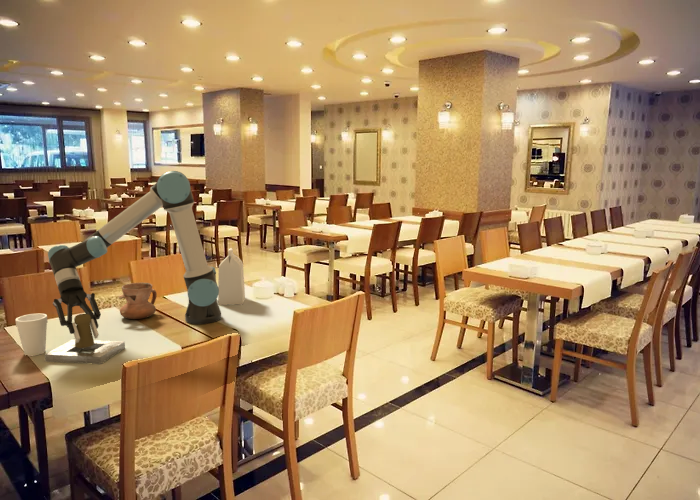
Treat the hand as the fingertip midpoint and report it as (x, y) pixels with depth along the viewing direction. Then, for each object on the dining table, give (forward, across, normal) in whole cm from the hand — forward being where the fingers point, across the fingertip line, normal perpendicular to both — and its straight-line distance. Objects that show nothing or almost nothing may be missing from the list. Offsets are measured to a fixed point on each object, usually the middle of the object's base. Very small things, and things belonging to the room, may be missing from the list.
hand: (87, 338), depth 172 cm
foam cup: (-7, +12, -18) cm, 23 cm away
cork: (0, 0, -5) cm, 5 cm away
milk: (-16, -75, -26) cm, 80 cm away
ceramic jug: (-20, -32, -30) cm, 48 cm away
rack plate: (+2, 0, -7) cm, 8 cm away
